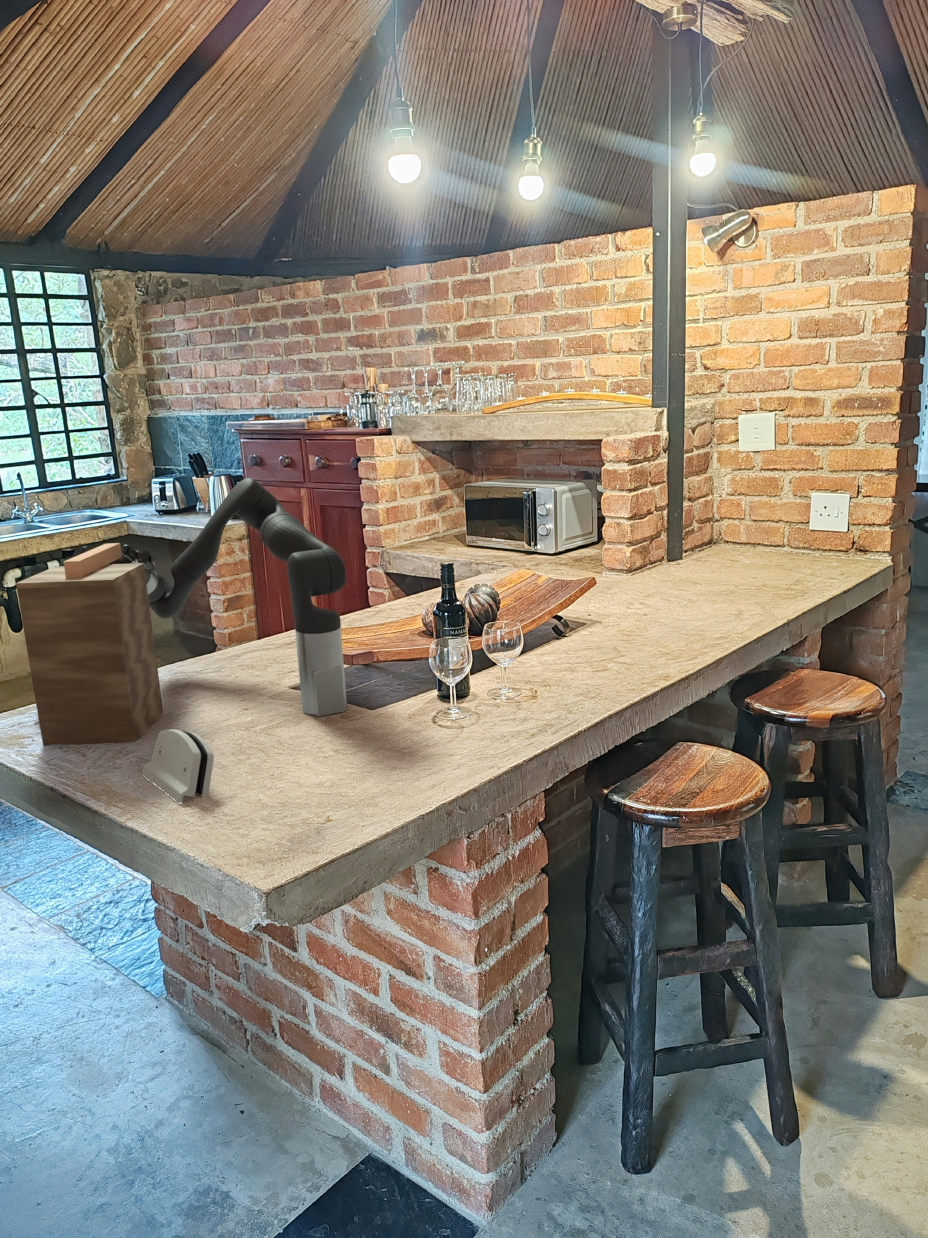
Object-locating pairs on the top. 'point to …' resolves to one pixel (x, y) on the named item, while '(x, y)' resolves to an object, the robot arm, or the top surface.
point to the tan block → (92, 560)
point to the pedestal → (91, 654)
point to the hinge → (180, 764)
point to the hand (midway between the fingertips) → (104, 550)
